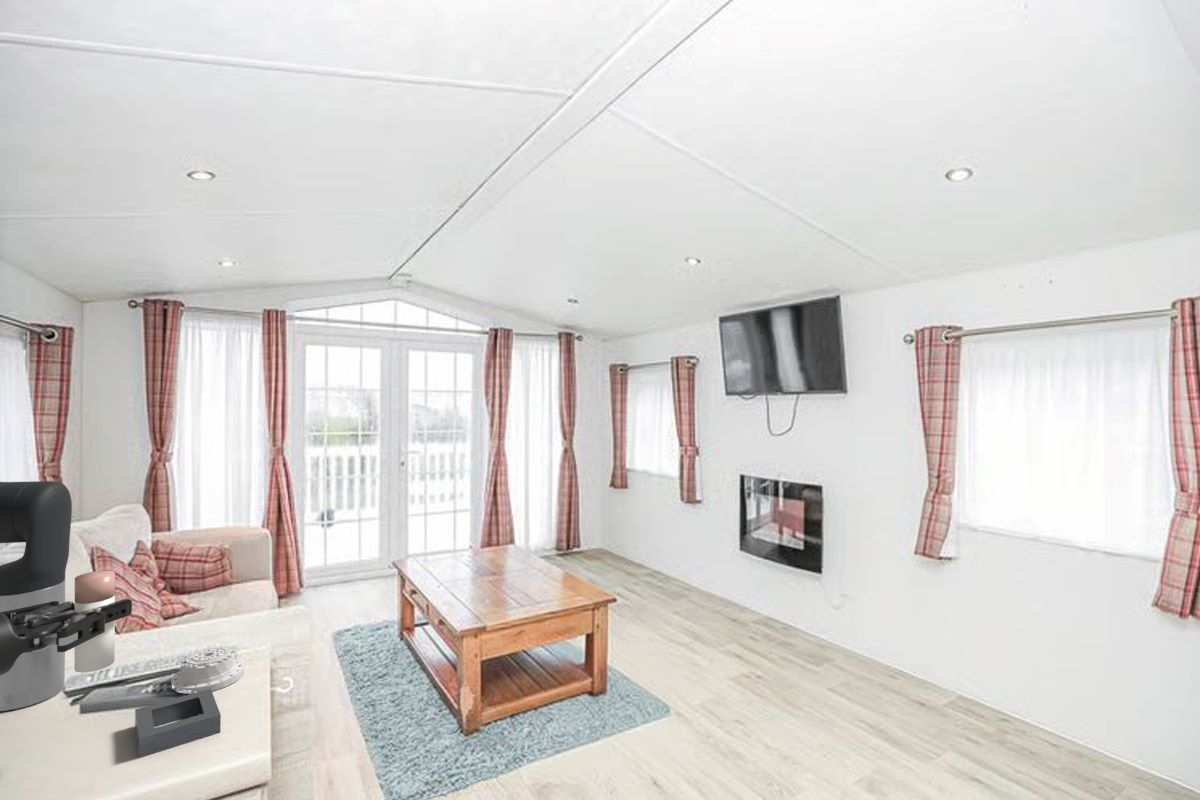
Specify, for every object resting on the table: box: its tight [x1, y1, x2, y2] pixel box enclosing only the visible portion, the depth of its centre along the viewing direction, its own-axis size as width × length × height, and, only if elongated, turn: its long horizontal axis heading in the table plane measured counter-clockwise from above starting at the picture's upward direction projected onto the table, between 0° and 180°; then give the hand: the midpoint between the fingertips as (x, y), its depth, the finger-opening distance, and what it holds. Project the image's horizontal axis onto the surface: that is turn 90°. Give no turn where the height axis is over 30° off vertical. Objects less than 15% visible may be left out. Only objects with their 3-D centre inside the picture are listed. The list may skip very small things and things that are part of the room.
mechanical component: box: [170, 645, 245, 692], centre depth 96 cm, size 10×4×10 cm
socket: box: [134, 689, 222, 759], centre depth 82 cm, size 9×9×2 cm
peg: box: [74, 570, 116, 673], centre depth 77 cm, size 4×4×12 cm
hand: (117, 603), depth 79 cm, fingers closed on peg, 4 cm apart
